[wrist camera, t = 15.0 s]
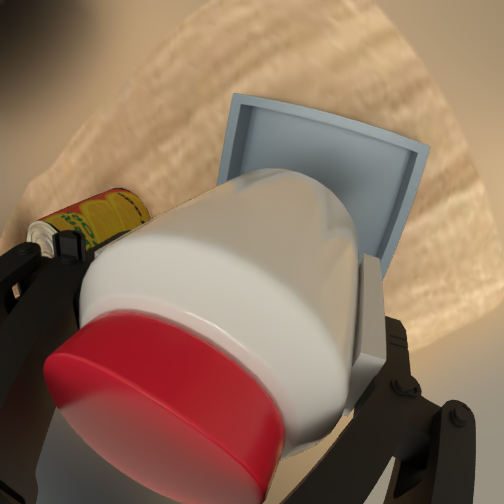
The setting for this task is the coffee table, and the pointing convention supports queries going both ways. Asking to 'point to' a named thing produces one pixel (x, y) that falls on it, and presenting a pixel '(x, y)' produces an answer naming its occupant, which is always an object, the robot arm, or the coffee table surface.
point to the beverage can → (91, 219)
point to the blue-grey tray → (331, 163)
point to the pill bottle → (216, 339)
